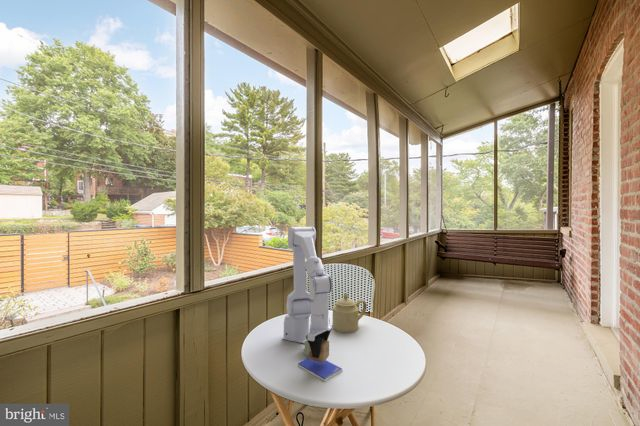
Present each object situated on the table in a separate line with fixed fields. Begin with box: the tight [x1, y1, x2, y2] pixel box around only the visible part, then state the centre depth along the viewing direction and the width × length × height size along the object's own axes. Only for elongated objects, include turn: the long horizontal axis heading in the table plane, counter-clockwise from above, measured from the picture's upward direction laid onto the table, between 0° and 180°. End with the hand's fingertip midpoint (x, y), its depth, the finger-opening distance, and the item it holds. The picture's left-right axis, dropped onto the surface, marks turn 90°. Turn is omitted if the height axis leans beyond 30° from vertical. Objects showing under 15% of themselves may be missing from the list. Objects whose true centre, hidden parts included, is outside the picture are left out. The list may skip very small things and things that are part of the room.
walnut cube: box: [308, 340, 330, 363], centre depth 104 cm, size 5×5×5 cm
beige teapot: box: [332, 292, 367, 333], centre depth 138 cm, size 15×11×15 cm
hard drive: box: [297, 357, 343, 382], centre depth 104 cm, size 2×8×12 cm
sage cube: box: [304, 339, 309, 356], centre depth 115 cm, size 5×5×5 cm
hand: (318, 353), depth 104 cm, fingers closed on walnut cube, 5 cm apart
